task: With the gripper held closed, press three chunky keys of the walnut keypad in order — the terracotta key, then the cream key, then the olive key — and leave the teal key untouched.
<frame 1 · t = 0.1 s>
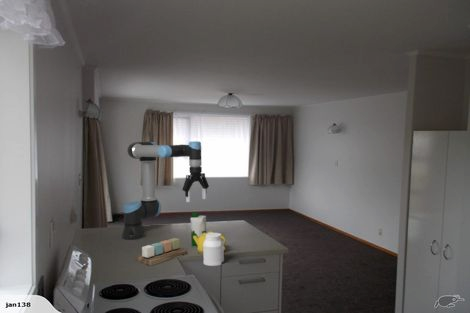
hand: (196, 200, 229), 28 cm above the worktop, fingers open, 13 cm apart
milk carton: (199, 245, 229), on the worktop
key teal: (157, 248, 205), point 6 cm above the worktop, slide at 0.0 cm
key terracotta: (165, 246, 209), point 6 cm above the worktop, slide at 0.0 cm
jar: (213, 262, 198), on the worktop
teapot: (209, 252, 217), on the worktop
key olive: (173, 243, 214), point 6 cm above the worktop, slide at 0.0 cm
key cream: (148, 251, 200), point 6 cm above the worktop, slide at 0.0 cm
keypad: (161, 257, 207), on the worktop
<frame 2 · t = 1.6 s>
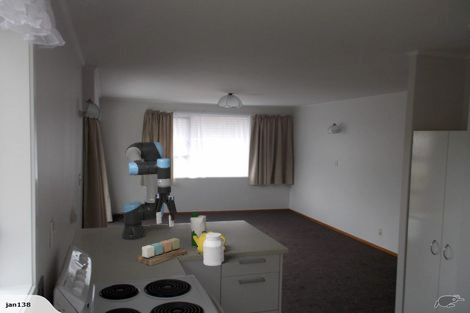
hand: (165, 224, 209), 18 cm above the worktop, fingers open, 10 cm apart
nothing on the worktop moved.
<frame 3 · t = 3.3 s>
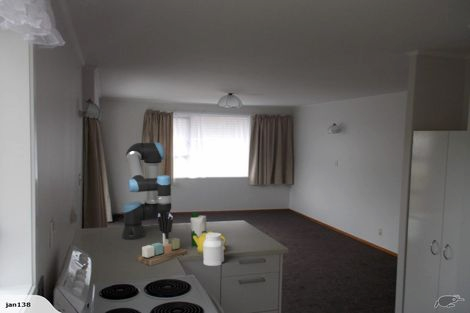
hand: (165, 244, 209), 7 cm above the worktop, fingers closed
key terracotta: (165, 248, 210), point 4 cm above the worktop, slide at 1.6 cm, touching gripper
everything else where it was.
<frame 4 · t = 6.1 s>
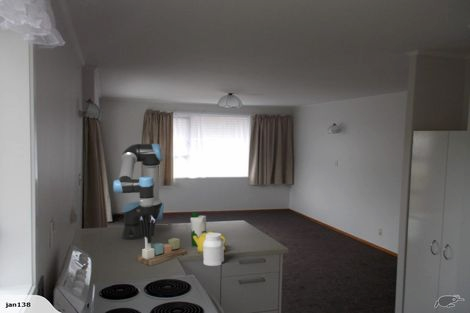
hand: (148, 248, 200), 7 cm above the worktop, fingers closed
key terracotta: (165, 249, 210), point 4 cm above the worktop, slide at 2.1 cm
key cream: (148, 253, 200), point 4 cm above the worktop, slide at 1.3 cm, touching gripper
everything else where it was.
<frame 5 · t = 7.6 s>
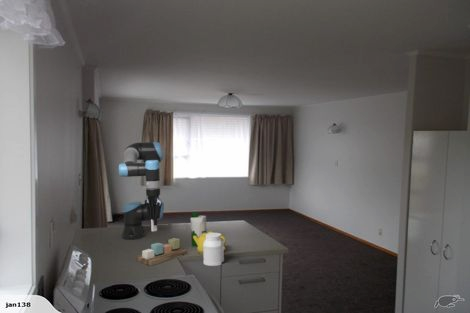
hand: (154, 230, 203), 16 cm above the worktop, fingers closed
key cream: (148, 255, 200), point 4 cm above the worktop, slide at 2.1 cm
everything else where it was.
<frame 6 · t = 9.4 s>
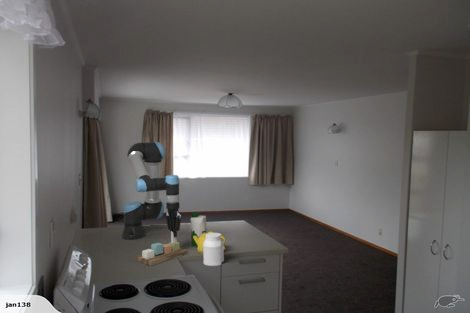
hand: (173, 242, 214), 7 cm above the worktop, fingers closed
key olive: (174, 246, 214), point 4 cm above the worktop, slide at 1.9 cm, touching gripper
everything else where it was.
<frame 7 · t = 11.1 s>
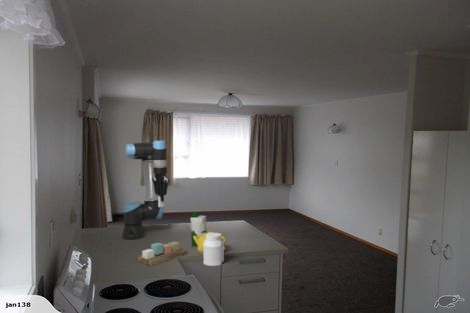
hand: (161, 206, 218), 27 cm above the worktop, fingers closed
key olive: (174, 247, 214), point 4 cm above the worktop, slide at 2.1 cm
everything else where it was.
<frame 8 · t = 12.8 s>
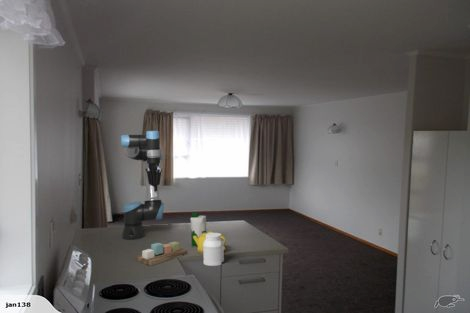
hand: (154, 196, 219), 32 cm above the worktop, fingers closed
nothing on the worktop moved.
at the end: key terracotta slide at 2.1 cm; key olive slide at 2.1 cm; key teal slide at 0.0 cm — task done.
